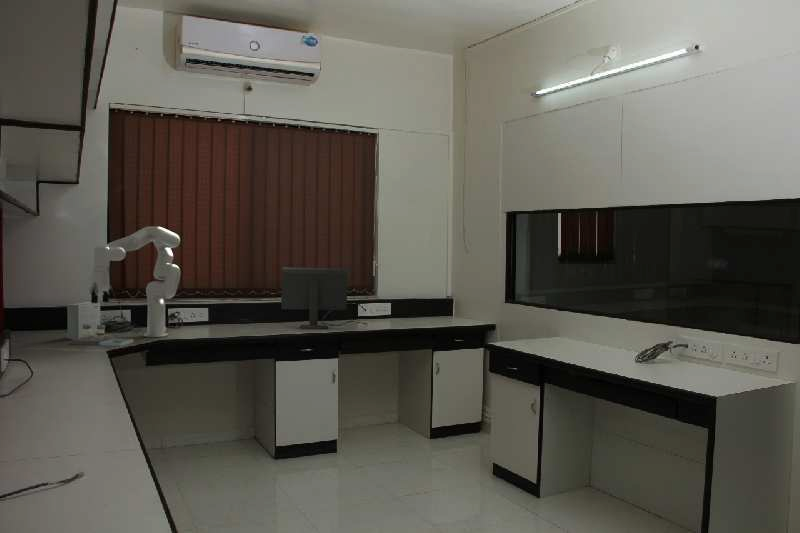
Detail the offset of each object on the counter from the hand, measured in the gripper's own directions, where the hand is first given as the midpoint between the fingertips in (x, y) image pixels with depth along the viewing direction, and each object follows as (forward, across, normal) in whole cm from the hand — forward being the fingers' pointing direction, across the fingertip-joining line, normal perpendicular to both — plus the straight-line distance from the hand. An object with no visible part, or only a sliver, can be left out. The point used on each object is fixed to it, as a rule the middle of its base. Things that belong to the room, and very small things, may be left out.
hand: (100, 302), depth 326 cm
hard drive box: (+22, -14, -17) cm, 31 cm away
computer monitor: (+18, -103, +89) cm, 137 cm away
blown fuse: (+21, 0, +1) cm, 21 cm away
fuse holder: (+22, 0, -3) cm, 22 cm away
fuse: (+21, 0, -6) cm, 22 cm away
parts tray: (+22, +2, +11) cm, 25 cm away
